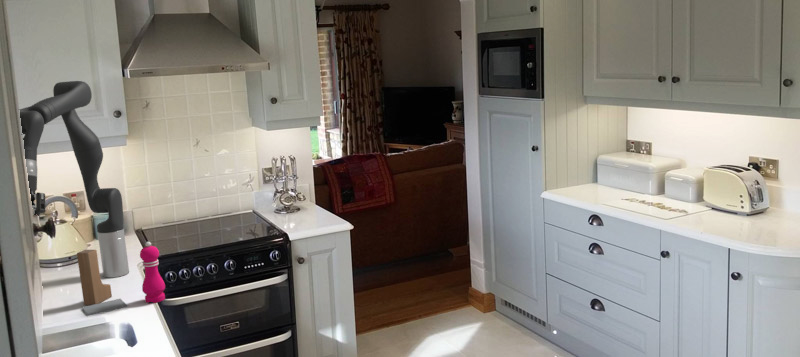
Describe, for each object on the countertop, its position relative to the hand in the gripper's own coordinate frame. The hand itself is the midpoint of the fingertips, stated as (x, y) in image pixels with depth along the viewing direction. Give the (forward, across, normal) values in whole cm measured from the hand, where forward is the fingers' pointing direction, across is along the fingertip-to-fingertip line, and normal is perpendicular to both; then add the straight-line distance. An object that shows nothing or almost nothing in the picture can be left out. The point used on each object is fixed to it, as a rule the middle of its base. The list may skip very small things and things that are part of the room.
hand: (21, 228), depth 215 cm
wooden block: (+23, -5, -31) cm, 39 cm away
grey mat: (+25, -12, -25) cm, 37 cm away
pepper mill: (+23, -25, -32) cm, 47 cm away
